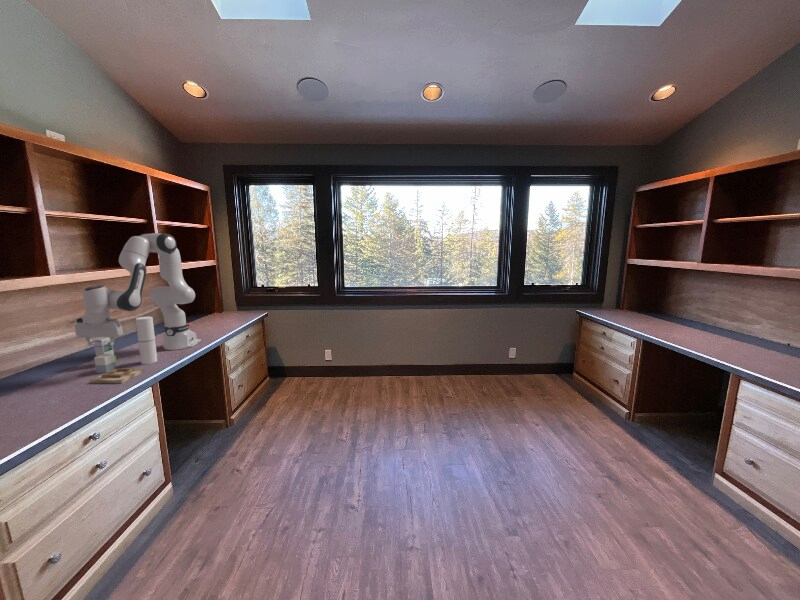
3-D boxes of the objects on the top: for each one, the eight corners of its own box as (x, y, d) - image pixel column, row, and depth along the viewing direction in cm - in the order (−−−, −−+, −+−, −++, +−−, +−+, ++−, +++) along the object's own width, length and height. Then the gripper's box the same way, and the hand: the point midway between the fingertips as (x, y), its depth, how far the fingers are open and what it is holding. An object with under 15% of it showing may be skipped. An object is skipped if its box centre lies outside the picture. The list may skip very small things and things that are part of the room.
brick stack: (105, 369, 162) (103, 354, 160) (115, 369, 162) (113, 354, 160) (96, 372, 157) (94, 357, 155) (106, 372, 157) (104, 357, 156)
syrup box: (105, 366, 165) (101, 339, 163) (96, 365, 166) (93, 339, 164) (117, 362, 171) (113, 336, 169) (108, 361, 172) (105, 336, 170)
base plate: (116, 371, 158) (115, 366, 158) (144, 371, 159) (144, 366, 159) (90, 383, 145) (89, 377, 144) (121, 383, 145) (120, 377, 145)
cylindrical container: (137, 364, 169) (131, 319, 165) (147, 359, 176) (142, 316, 172) (150, 364, 169) (145, 319, 165) (160, 359, 176) (155, 316, 172)
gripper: (125, 317, 158) (127, 343, 160) (83, 316, 157) (86, 343, 159) (114, 319, 152) (117, 347, 154) (70, 319, 151) (74, 346, 153)
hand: (101, 345), depth 157 cm, fingers open, 8 cm apart
